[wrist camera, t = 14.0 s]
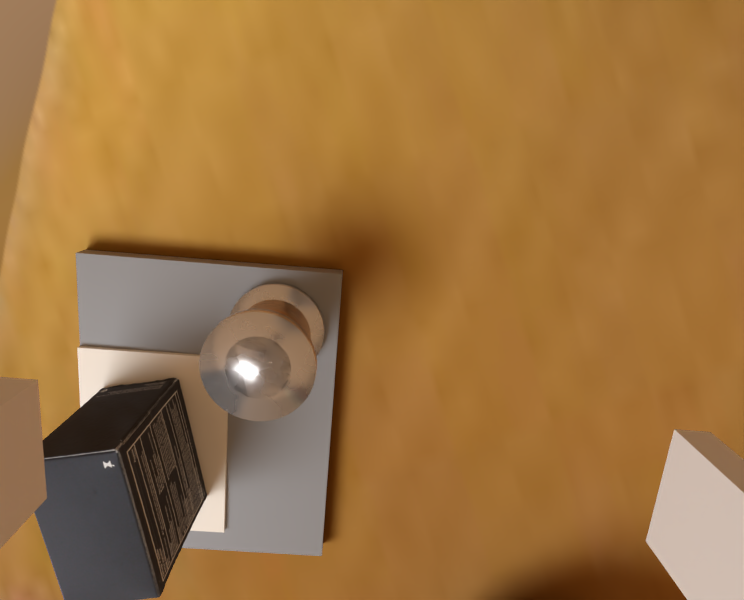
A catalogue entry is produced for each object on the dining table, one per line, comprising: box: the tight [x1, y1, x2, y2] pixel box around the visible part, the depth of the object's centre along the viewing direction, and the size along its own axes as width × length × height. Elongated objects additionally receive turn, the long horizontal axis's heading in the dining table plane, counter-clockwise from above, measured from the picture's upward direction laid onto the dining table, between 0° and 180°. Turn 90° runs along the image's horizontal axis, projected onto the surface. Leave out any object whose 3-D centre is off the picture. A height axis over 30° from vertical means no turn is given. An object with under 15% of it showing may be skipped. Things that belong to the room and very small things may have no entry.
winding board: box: [76, 250, 343, 556], centre depth 43 cm, size 19×24×2 cm
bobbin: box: [199, 283, 325, 421], centre depth 37 cm, size 7×7×8 cm
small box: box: [34, 378, 207, 600], centre depth 38 cm, size 11×6×10 cm, turn 8°
